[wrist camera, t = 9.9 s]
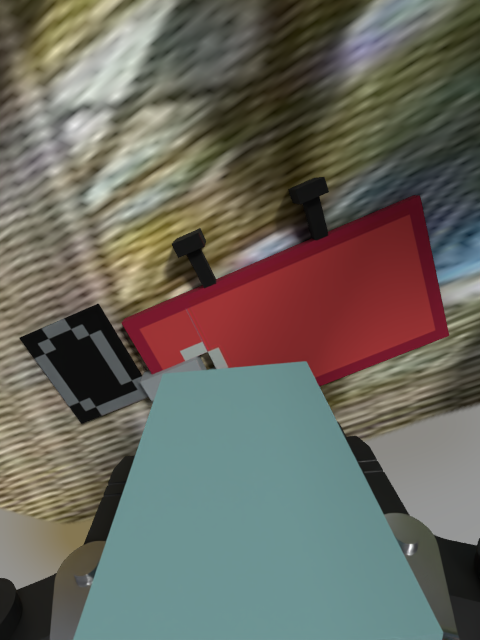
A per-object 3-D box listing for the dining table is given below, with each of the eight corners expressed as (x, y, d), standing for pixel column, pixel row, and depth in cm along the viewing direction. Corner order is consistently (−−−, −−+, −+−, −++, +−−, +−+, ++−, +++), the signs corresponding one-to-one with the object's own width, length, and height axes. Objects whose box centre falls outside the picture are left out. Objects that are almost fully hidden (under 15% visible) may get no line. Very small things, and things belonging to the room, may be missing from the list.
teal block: (162, 373, 12) (62, 671, 4) (306, 361, 12) (443, 632, 5) (181, 485, 14) (131, 838, 6) (307, 474, 14) (408, 808, 6)
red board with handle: (10, 311, 26) (114, 456, 31) (-13, 325, 23) (104, 481, 28) (397, 140, 23) (438, 328, 29) (420, 134, 21) (461, 343, 26)
